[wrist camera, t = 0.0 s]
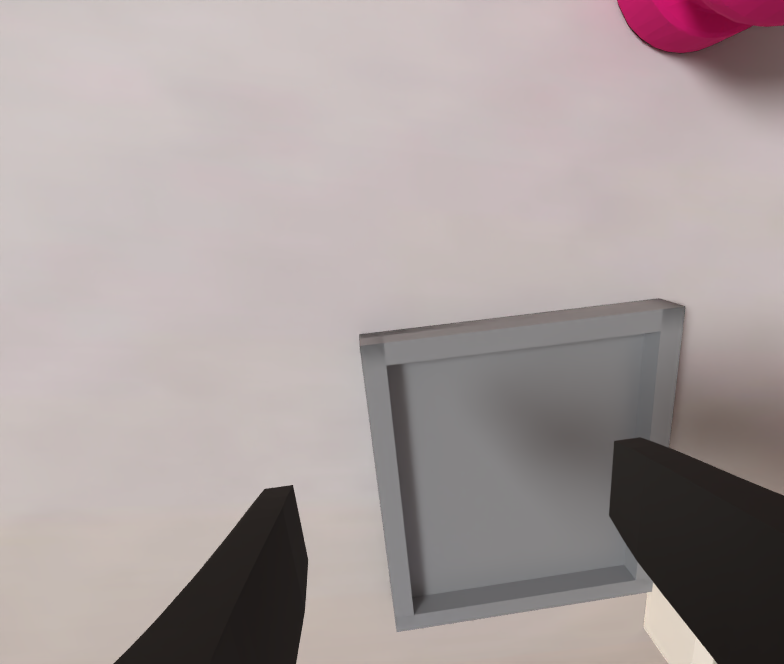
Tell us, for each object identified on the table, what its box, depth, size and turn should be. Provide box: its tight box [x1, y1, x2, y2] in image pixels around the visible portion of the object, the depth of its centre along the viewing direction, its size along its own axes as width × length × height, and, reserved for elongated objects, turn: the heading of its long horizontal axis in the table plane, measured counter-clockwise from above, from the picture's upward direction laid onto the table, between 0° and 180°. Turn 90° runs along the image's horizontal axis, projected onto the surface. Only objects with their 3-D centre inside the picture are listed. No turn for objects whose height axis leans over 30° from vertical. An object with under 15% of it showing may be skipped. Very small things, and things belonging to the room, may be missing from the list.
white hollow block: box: [643, 583, 717, 664], centre depth 23 cm, size 8×8×4 cm
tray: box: [359, 299, 685, 632], centre depth 20 cm, size 16×14×2 cm
